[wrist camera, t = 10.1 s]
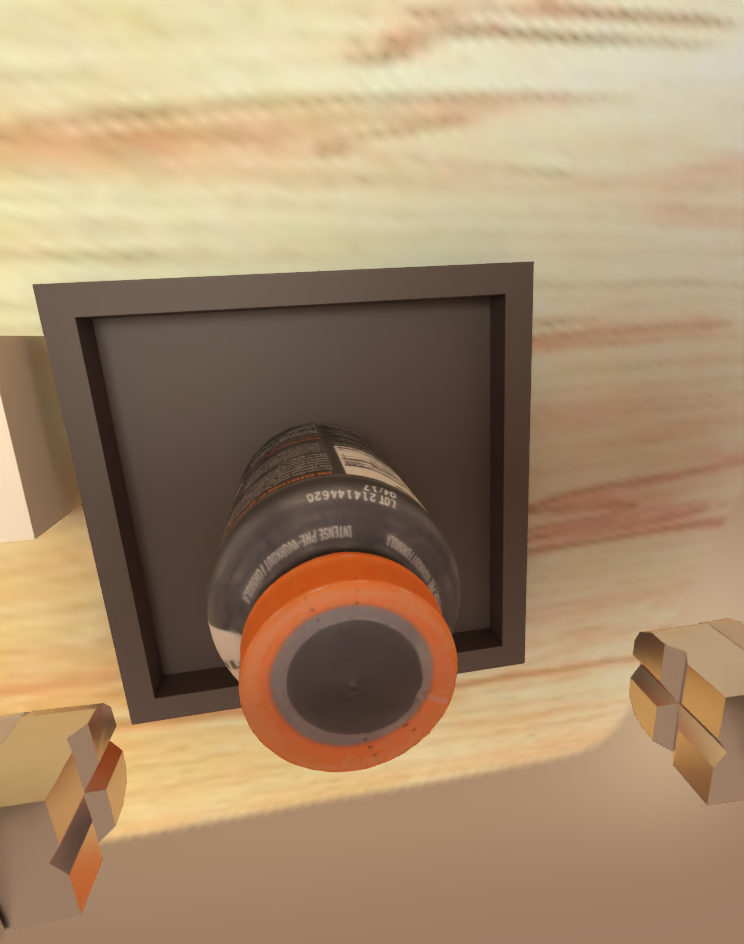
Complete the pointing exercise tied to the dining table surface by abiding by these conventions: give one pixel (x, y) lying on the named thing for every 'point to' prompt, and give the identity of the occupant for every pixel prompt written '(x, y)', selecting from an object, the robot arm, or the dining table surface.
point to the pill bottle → (334, 602)
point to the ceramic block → (32, 443)
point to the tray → (276, 409)
